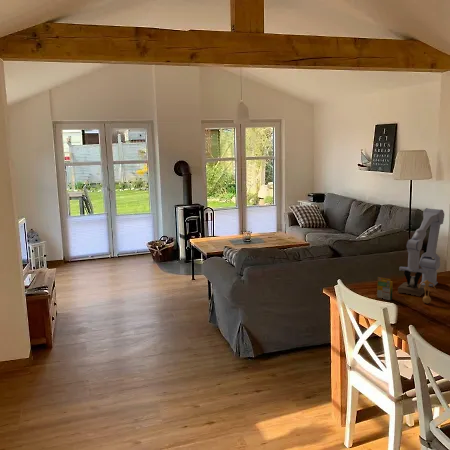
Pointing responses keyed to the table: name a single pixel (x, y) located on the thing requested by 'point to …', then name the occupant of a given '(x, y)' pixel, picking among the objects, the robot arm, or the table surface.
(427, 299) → the figurine
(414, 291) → the hole block
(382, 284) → the crayon box
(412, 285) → the metal peg
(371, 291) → the table surface
